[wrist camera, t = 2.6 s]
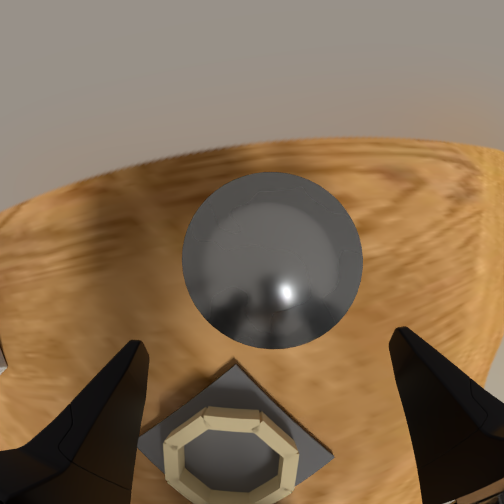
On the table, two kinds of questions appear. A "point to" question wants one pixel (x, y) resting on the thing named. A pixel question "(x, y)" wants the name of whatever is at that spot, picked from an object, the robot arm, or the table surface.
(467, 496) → the robot arm
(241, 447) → the ring collar
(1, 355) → the light bulb box
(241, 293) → the piston
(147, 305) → the table surface
